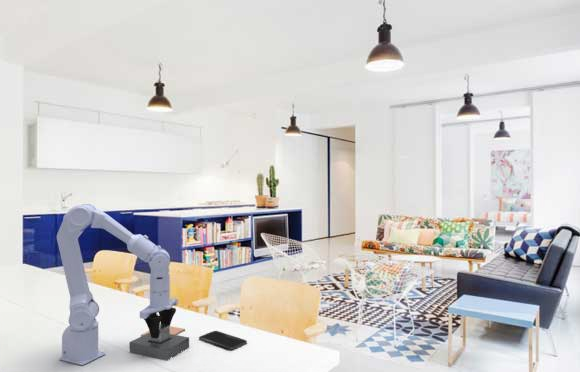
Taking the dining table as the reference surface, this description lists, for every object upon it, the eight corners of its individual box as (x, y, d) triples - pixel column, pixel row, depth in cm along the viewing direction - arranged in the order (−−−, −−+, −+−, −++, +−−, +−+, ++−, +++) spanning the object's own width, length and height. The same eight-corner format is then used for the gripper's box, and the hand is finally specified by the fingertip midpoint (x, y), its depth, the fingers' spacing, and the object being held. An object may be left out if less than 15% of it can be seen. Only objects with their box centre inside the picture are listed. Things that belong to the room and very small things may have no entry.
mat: (140, 336, 131) (140, 334, 131) (161, 326, 140) (161, 324, 140) (165, 340, 127) (165, 339, 127) (185, 330, 136) (185, 328, 136)
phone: (230, 349, 119) (197, 337, 128) (230, 352, 119) (197, 340, 128) (248, 340, 126) (215, 330, 135) (248, 344, 126) (215, 333, 135)
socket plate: (129, 352, 118) (129, 342, 118) (153, 340, 128) (153, 330, 128) (167, 360, 113) (167, 349, 113) (189, 347, 122) (189, 337, 122)
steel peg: (149, 351, 119) (149, 327, 119) (159, 346, 123) (159, 323, 123) (160, 353, 118) (160, 329, 118) (169, 348, 121) (169, 325, 121)
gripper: (153, 298, 112) (153, 346, 112) (185, 285, 125) (185, 328, 125) (134, 295, 115) (134, 342, 115) (167, 283, 128) (167, 325, 128)
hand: (159, 335), depth 120 cm, fingers closed on steel peg, 4 cm apart
